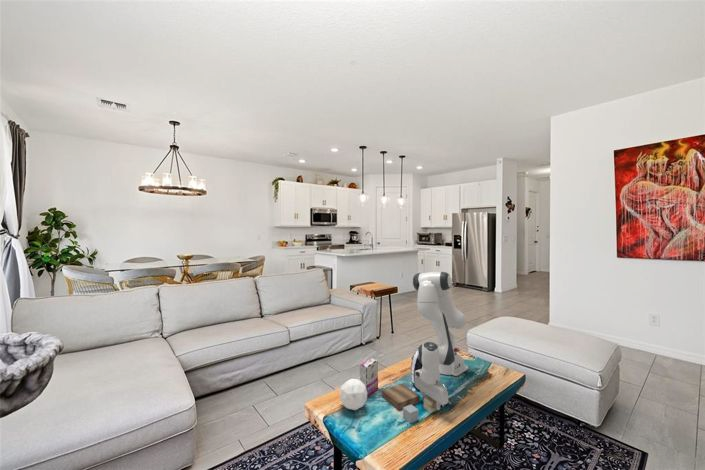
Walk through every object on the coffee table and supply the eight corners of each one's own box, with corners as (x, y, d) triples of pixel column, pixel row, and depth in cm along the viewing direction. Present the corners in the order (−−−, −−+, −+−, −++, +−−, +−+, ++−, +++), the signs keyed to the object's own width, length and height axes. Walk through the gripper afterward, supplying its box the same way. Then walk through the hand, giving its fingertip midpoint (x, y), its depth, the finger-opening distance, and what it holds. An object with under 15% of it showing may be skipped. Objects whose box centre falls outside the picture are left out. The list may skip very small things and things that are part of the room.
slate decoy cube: (411, 414, 145) (411, 404, 145) (418, 420, 140) (418, 409, 140) (403, 417, 142) (403, 407, 142) (410, 423, 138) (410, 413, 138)
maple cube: (431, 404, 153) (431, 395, 152) (438, 409, 148) (438, 400, 148) (423, 407, 150) (423, 397, 150) (430, 413, 146) (430, 402, 146)
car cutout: (444, 410, 148) (444, 401, 148) (435, 403, 154) (435, 395, 154) (467, 403, 154) (467, 394, 154) (457, 396, 161) (457, 388, 160)
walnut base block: (402, 390, 167) (402, 383, 167) (419, 403, 155) (419, 395, 155) (381, 397, 160) (381, 390, 160) (398, 411, 148) (398, 403, 148)
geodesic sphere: (371, 416, 143) (371, 386, 143) (342, 420, 141) (341, 390, 141) (364, 399, 158) (364, 372, 158) (337, 402, 156) (337, 374, 155)
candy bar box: (370, 385, 171) (370, 357, 171) (378, 388, 168) (378, 359, 168) (359, 394, 162) (359, 364, 162) (367, 397, 159) (366, 367, 159)
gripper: (451, 384, 141) (451, 413, 142) (421, 367, 159) (421, 392, 159) (441, 387, 138) (441, 417, 139) (412, 370, 156) (412, 396, 156)
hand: (430, 404), depth 149 cm, fingers open, 8 cm apart
